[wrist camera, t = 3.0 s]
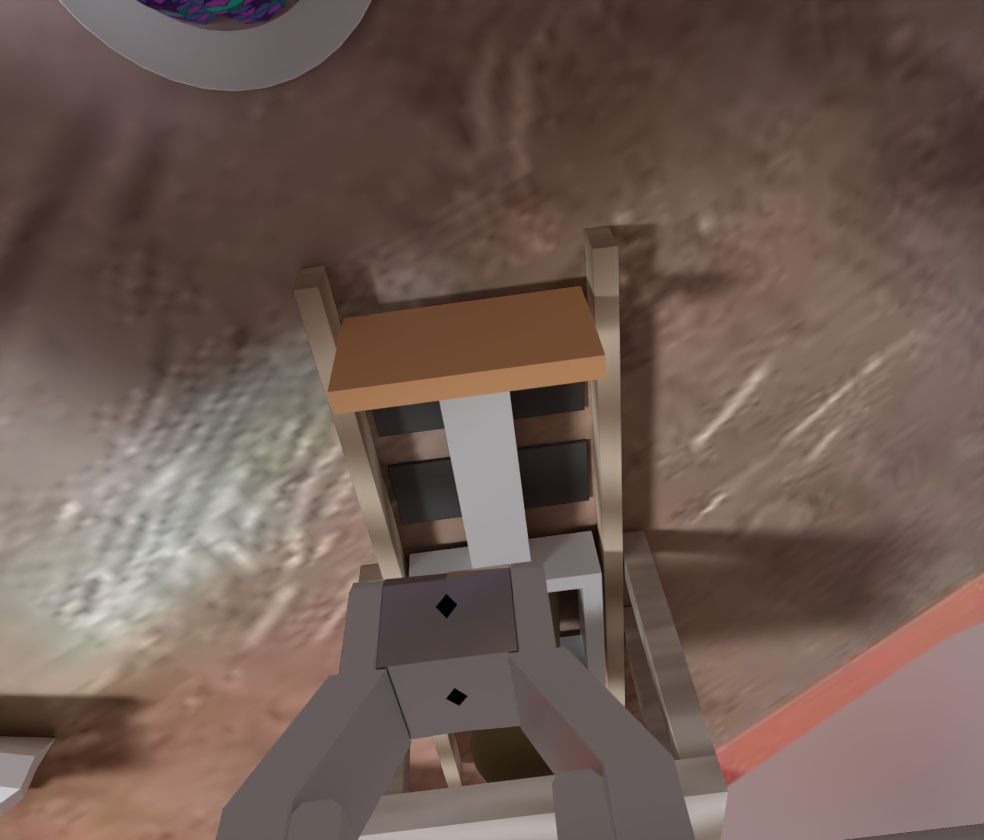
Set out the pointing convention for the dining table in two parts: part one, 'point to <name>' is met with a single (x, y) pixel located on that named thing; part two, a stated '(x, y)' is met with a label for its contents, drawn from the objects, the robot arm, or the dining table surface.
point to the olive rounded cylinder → (512, 739)
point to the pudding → (221, 37)
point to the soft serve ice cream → (19, 766)
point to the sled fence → (485, 421)
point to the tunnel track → (545, 481)
